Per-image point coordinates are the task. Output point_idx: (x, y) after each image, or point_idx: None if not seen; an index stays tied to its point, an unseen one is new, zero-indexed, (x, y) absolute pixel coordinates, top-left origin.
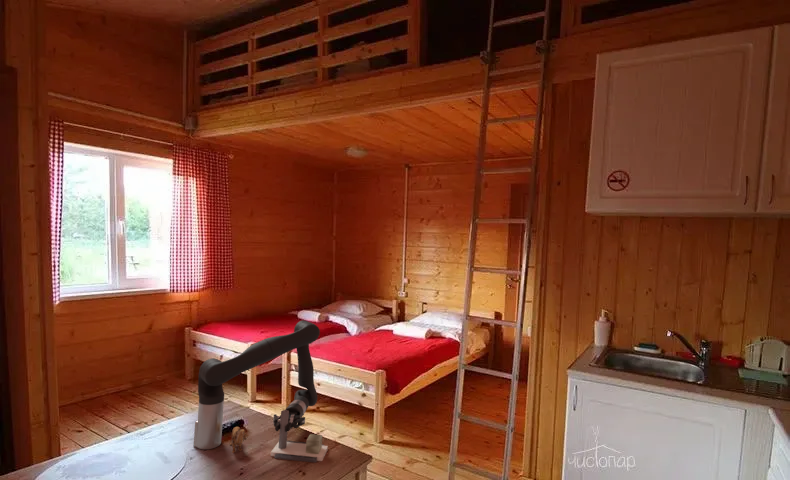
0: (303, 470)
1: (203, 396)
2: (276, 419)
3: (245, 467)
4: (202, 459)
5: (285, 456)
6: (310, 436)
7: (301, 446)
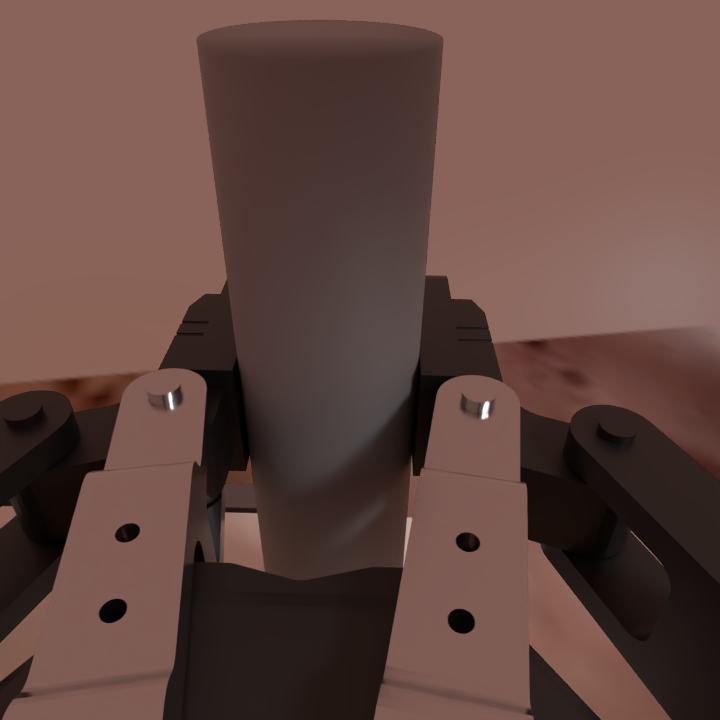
0: (72, 404)
1: None
2: (601, 422)
3: (558, 389)
4: None
5: (251, 489)
6: None
7: None
